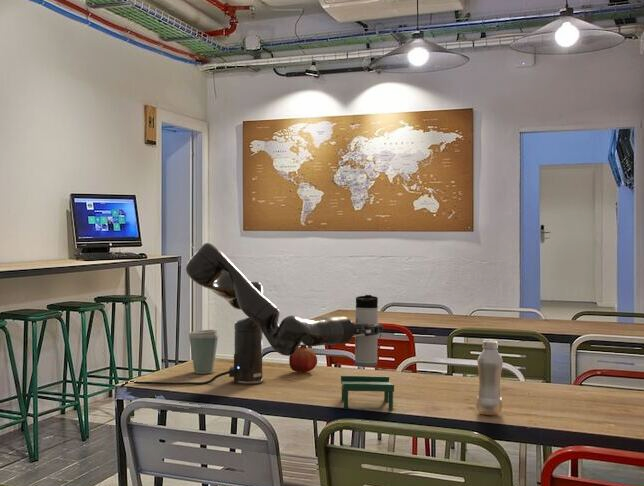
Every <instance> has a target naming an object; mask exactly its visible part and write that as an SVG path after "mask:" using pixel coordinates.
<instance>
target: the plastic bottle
mask: <svg viewBox="0 0 644 486" xmlns="http://www.w3.org/2000/svg"><path fill="white" fill-rule="evenodd" d="M482 348H483V350H482V351H481V353H480V354H479V355H478V357H477V371H478V390H477V391H478V393H477V397H476V403H475V407H476V411H477V412H478V413H479V414H482V415H486V416H496V415H500V413H501V412H502V409H503V401H502V394H501V375H502V370H503V365H504V361H503V357H502V355H501V354H500V353H499V351H498V349H499V347H498V341H497V340H491V339H490V340H487V339H486V340H483V341H482Z"/></svg>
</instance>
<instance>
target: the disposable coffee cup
mask: <svg viewBox="0 0 644 486" xmlns="http://www.w3.org/2000/svg"><path fill="white" fill-rule="evenodd" d="M188 338H189V346H190V352H191V358H192V359H191V360H192V365H193V371H194V373H195V374H199V375H200V374H205V375H206V374H212V373H213V371H214V369H215V368H214V367H215V361H216V355H217V348H218V347H217V346H218V339H219V333H218V330H217V329H203V330H195V331H191V332H189V334H188Z"/></svg>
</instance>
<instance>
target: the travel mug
mask: <svg viewBox="0 0 644 486" xmlns="http://www.w3.org/2000/svg"><path fill="white" fill-rule="evenodd" d="M378 304H379V298H378V297H377V296H375V295H372V294H365V295H360V296H356V297H355V316H354V317H355V321H354V322H357V323H367V324H368V325H372V324H379V322H378V321H379V319H378V318H379V310H378V309H379V306H378ZM361 326H362V329H364V326H363V325H361ZM354 365H355V366H356V367H359V368H360V367H361V368H376V367H377V366H378V334H377V335H371V336H358V337H354Z"/></svg>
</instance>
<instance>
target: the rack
mask: <svg viewBox="0 0 644 486" xmlns="http://www.w3.org/2000/svg"><path fill="white" fill-rule="evenodd" d="M340 384H341V401H342V402H343V409H344V410H348V409H349V392H383V393H384V394H383V395H384V396H383V397H384V399H383V400H384V402H386V403H387V402H388V410H389V411H393V410H394V393H395V384H394V383H391V382H390V376H389V375H388V376H387V375H383V376H382V375H341V376H340Z"/></svg>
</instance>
